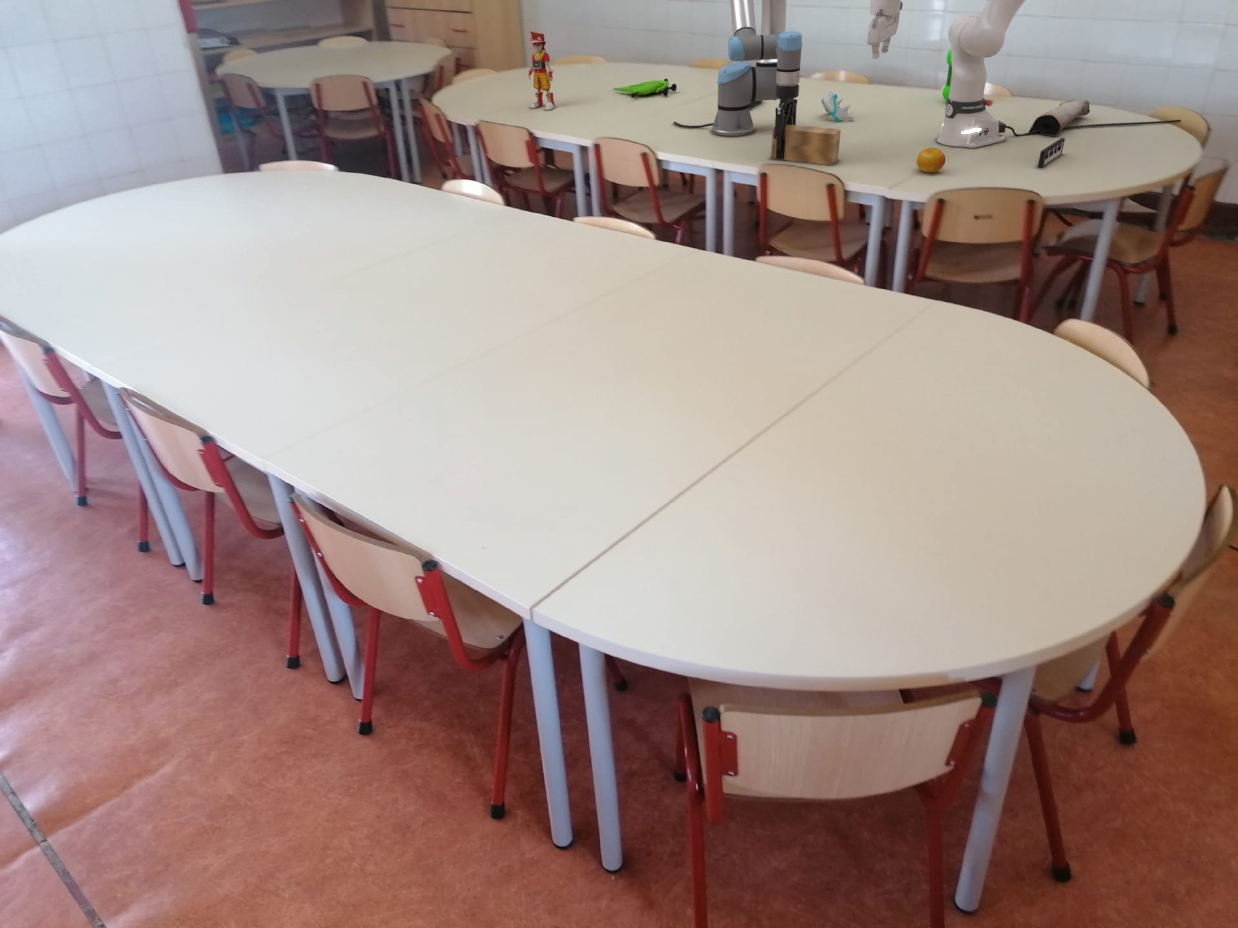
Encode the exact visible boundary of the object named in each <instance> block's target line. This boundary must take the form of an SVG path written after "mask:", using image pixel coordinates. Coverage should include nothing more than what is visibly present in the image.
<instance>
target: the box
mask: <svg viewBox="0 0 1238 928" xmlns="http://www.w3.org/2000/svg"><path fill="white" fill-rule="evenodd" d="M771 131H772V132H771V133H772V135H771V153H770V155H771V156H770V159H772V160H778V159H777V158H776V146H777V139H774V131H775V126H773V127H772V129H771ZM841 131H842V129H840V128H830V127H819V126H810V125H809V126H807V125H799V124H796V125H788V124H786V129H785V135H784V139H785V153H784V159H779V160H781V161H791V162H799V163H807V164H808V163H809V164H818V165H825V166H833V165H834V164H835V163H837V161H838V162H839V154H840V153H839V152H840V145H841V144H840V142H841Z"/></svg>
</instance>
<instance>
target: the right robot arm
mask: <svg viewBox="0 0 1238 928" xmlns="http://www.w3.org/2000/svg"><path fill="white" fill-rule="evenodd" d="M1025 2H1026V0H986V1H985V3H984V5H983V8H982V9H981V12H980V13H979V14H978V15H975V14H965V15H961V16H958V17H956V18H955V19H954V20H953V21H952V23H951V24H950V25H949V28H948V35H947V36H948V40H949V43H950V49H951V59H952V76H951V84H950V91H949V97H948V98H947V101H946V102H945V110H944V113H945V115H944V119H943V123H942V126H941V130H940V132H939V135H938V137H937V139H936V141H937V142H938V143H939V144H941V145H943V146H950V147H959V148H960V147H961V148H971V149H977V148H980V147H985V146H988V145H993V144H997V143H1001V142H1005V140H1006V138H1005V136H1004V135H1003V133H1006V129H1009V130H1010V131H1011V132H1012V134H1013V136H1016V137H1023V136H1029V135H1032V134H1039V133H1041V132H1040V131H1033V132H1029V131H1028V132H1026V133H1022V134H1020V133H1016V131H1015V128H1013V127H1012V126H1009V125H1007V124H1006V123H1004V122H1003V121H1001V120H998V119H997V118H996V117H994V116H993V115H992V114H991V113H990V112H989V111H988V110H987V107H992V106H993V104H994V101H993V100H992V99H990V98H987V99H986V98H984V93H985V88H986V83H987V77H988V74H987V69H986V64H985V59H988V58H992V57H995V56H996V55H997V54H998V53H999V52H1000V51H1001V49H1002V48H1003V46H1004V44H1005V39H1006V37H1005V35H1006V33H1007V30H1008V29H1009V27H1010V25H1011V23H1012V21H1013V19H1014V17H1015V16H1016V14H1017V12H1018V11H1019V10H1020V8H1021V7H1022V6H1023V4H1024V3H1025ZM903 6H904V3H903V1H902V0H870V9H869V14H870V15H872V16H873V17H871V18H870V20H869V23H868V31H867V37H866V43H867V45H868V46H871V52H872V55H871V58H872V59H873V60H877V59H879V58H880V54H881V53H882V54H886V53H888V52H889V46H890V44H891V39H892V37H893V36H895V35H896V34H897V31H898V28H899V22H900V15H901V11H902V10H903ZM881 44H882V46H881ZM880 46H881V50H880ZM880 51H881V52H880ZM986 106H987V107H986ZM1181 122H1182V119H1170V120H1156V121H1137V122H1135V121H1134V122H1114V123H1113V122H1111V123H1094V124H1080V125H1069V126H1065V127H1064V128H1063V129H1062V130H1068V129H1080V128H1081V129H1082V128H1093V127H1110V126H1132V125H1133V126H1135V125H1153V124H1154V125H1155V124H1170V123H1181Z"/></svg>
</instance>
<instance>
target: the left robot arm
mask: <svg viewBox="0 0 1238 928" xmlns="http://www.w3.org/2000/svg"><path fill="white" fill-rule="evenodd" d="M729 1H730V2H729V3H730V12H731V24H732V35H733V36H730V37H729V38H728V40H727V41H728V42H727V54H728V59H729V61H731V62H734V63H729V64H726V65H724V66H722V67H720V69H719V70H718V75H717V111H716V114H715V118H714V120H713V122H711V123H705V124H700V125H699V124H698V125H687V124H681V123H679V122H676V121H673V122H672V124H673V125H675V126H678V127H681V128H687V129H701V128H706V127H712V133H713V134H715V135H717V136H721V137H741V136H746V135H750V134H752V133H754V127H755V126H754V121H753V118H752V115H751V111H750V109H749V102H750V101H762V102H764V101H775V102H776V101H777V100H779V103H778V107H775V109H774V110H775V120H774V127H775V131H774V139H777V146H776V158H777V159H776V160H780V159H784V153H785V139H784V135H785V129H786V124H788V125H797V107H798V106H797V105H798V99H796V98H798V97H799V94H800V85H799V83H800V78H801V77H802V74H801V61H802V60H801V59H802V48H803V35H802V32H800V31H796V30H786V26H787V25H786V23H787V0H761V17H760V19H761V20H760V21H761V22H760V25H761V26H760V34H757V27H756V26H757V25H756V15H755V6H754V5H755V4H754V0H729ZM750 61H755V66H752V65H751V63H750Z"/></svg>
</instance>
